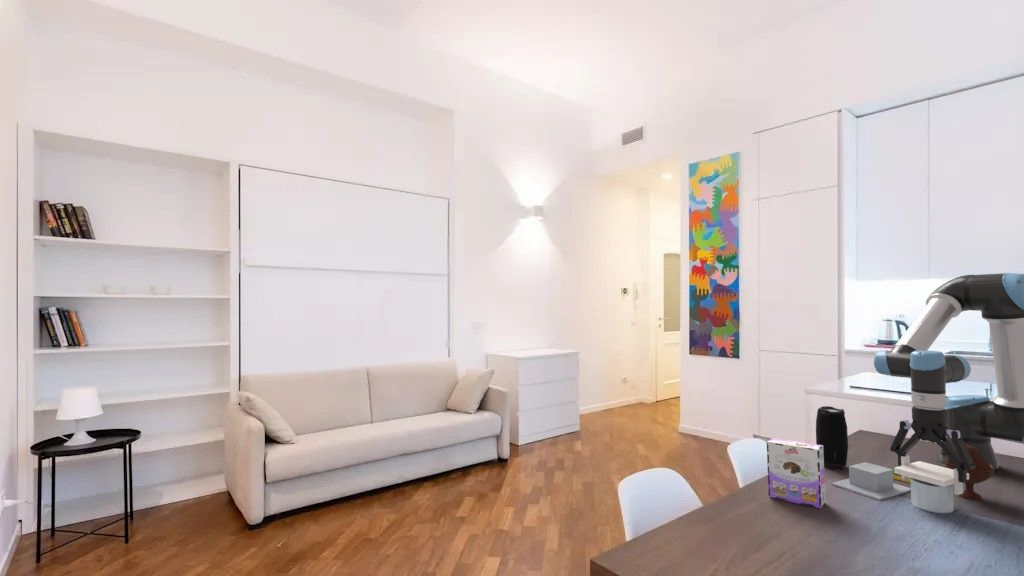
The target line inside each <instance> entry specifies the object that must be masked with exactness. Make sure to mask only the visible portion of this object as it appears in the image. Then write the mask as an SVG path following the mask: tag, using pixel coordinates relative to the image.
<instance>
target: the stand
mask: <svg viewBox="0 0 1024 576" xmlns="http://www.w3.org/2000/svg"><path fill="white" fill-rule="evenodd" d="M848 475H849V476H848V477H849V478H845V479H841V480H837V481H833V482H831V486H834V485H835V486H834V487H837V486H838V488H840V487H841V488H840V489H843V488H844V489H843V490H845V491H846V490H847V491H850V492H852V491H853V493H855V492H856V494H858V495H862V496H864V497H868V498H871V499H874V500H877V501H879V502H880V501H883V500H887V499H890V498H893V497H896V496H900V495H903V494H907V493H909V492H910V493H911V487H908V486H904V485H901V484H898V483H894V479H893V469H892V468H888V467H884V466H881V465H878V464H873V463H869V462H866V461H863V462H861V463H856V464H853V465H849V466H848Z"/></svg>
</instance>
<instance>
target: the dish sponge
mask: <svg viewBox="0 0 1024 576" xmlns="http://www.w3.org/2000/svg"><path fill="white" fill-rule="evenodd" d="M895 467H899V465H896V466H893V467H892V468H891V469H893V480H897V481H901V482H902V481H903V482H906V483H909V484H911V480H910V479H906V480H903V479H902V475H899V474H896V473H894V468H895Z"/></svg>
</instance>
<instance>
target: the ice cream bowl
mask: <svg viewBox="0 0 1024 576" xmlns="http://www.w3.org/2000/svg"><path fill="white" fill-rule="evenodd" d="M965 446H966V448H967V450H968V452H969V454H970V456H971V458H972V460H973V462H974V464H975V466H976V468H974V469H971V470H967V473H969V479H968V480H967V481H966V482H964V483H963V484H965V489H963V493H962V494H959V495H957V497H960V498H963V499H965V500H970V501H982V500H983V497H982V496H981V494H979V493H977V492H976V491H975V490H974V485H975V484H979V483H983V482H985V481H988V480H989V479H991V478H992V476H993V475H994V473H995V471H996V470H995V468H994V467H993V466H992V465H991V464H989V463H988V462H987V461H986V460H984V459H983V458H981V453H980V451H979V450H978V449H976V448H974V447H973V446H969V445H965ZM954 450H955V451H956V452H957V450H956V448H955V449H954ZM957 454H958V452H957ZM958 455H959V454H958ZM947 458H948V459H944V462H945V463H944V465H945V468H949V469H953V470H954V469H956V466H955V465H954V464H953V462H952V461H951V460H950V458H949V457H948V456H947ZM994 470H995V471H994Z"/></svg>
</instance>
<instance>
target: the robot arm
mask: <svg viewBox="0 0 1024 576" xmlns="http://www.w3.org/2000/svg"><path fill="white" fill-rule="evenodd" d="M966 311H977V312H978V311H979V312H981V317H982V319H983V320H985V321H986V322H988V324H989V325H988V326H989V332H990V339H991V346H992V347H991V350H992V357H993V365H994V372H995V373H994V374H995V380H996V382H995V383H996V388H997V395H996V396H994V397H993V398H992V401H991V399H990V397H989V396H988V395H979V394H961V395H951V396H947V393H946V392H947V390H946V384H950V383H959V382H961V381H964V380H965V379H967V378H969V376H970V374H971V364H970V362H969V361H968V360H967V359H965V357H962V356H961V355H956V354H946V355H945V354H944V353H943V352H942V351H938V350H930V348H931V346H932V345H933V344H934V343H935V341H936V340H937V338H938V337H939V336H940V334H941V333H942V332H943V331H944V329H945V328H946V327H947V325H948V324H949V322H950V321H951V320H952V319H953V318H957V317H959V316H960V314H961V313H962V312H966ZM873 357H874V358H873V366H874V369H875V371H876V372H877V373H878V374H880V375H883V376H884V375H885V376H889V377H898V378H906V379H910V382H911V383H910V384H911V385H910V386H911V388H910V393H911V404H912V405H913V406H912V407H911V419H912V422H910V421H909V420H908V419H907V420H900V421H899V428H898V431H897V433H896V435H895V437H894V438H893V442H892V444H891V445H890V447H889V450H890V451H891V452H893V453H895V454H896V455H897V464H898V465H899V466H903V465H907V464H910V463H911V462H910V455H908V452H909V451H911V449H912V448H913V447H914V446H915V445H916V444H917V443H919V442H920V441H923V442H926V441H927V442H930V443H933V444H934V443H935V444H937V445H938V447H940V448H941V449H940V451H939V461H941V462H942V463H943V464H945V462H944V459H948V458H947V456H948V457H949V458H950V460H951V461H952V462H953V464H954V465H955V466H956V469H954V484H953V495H957V496H958V495H959V494H962V493H963V491H964V484H965V483H964V482H966V481H967V470H971V469H974V468H976V466H975V464H974V462H973V460H972V458H971V456H970V454H969V452H968V450H967V448H966V446H965V445H969V446H973V447H974V448H976V449H978V450H979V451H980V453H981V458H983V459H984V460H986V461H987V462H988V463H989V464H991V465H992V466H993V467H994V468H995V471H997V469H998V468H999V469H1000V462H999V460H998V457H997V455H996V452H995V450H994V448H993V445H992V439H996V440H997V439H998V440H1002V441H1008V442H1011V443H1018V444H1022V445H1024V273H1018V272H1017V273H1014V272H1013V273H1011V272H1004V273H1003V272H1001V273H987V274H984V273H983V274H981V273H980V274H966V275H960V276H958V277H954V278H952V279H950V280H948V281H947V282H945V283H942V284H941V285H940V286H938V287H937V288H936V289H934V290H933V292H931V293H930V294H929V296H928V297H927V298H926V300H925V307H924V308H923V309H922V311H921V312H920V313H919V314H918V315H917V317H916V318H915V319H914V320H913V322H912V323H911V324H910V326H909V327H908V328H907V330H906V331H905V332H904V333H903V335H902V336H900V338H899V340H898V341H897V342H896V344H895V345H894V346H893V347H892V348H891V350H880V351H877V352H876V353H875V355H874V356H873ZM946 396H947V397H946ZM911 429H912V430H913V432H914V433H913V434H912V435H911V436H910V438H909V439H908V440H907V441H906V442H905V443H904V440H905V439H906V437H907V435H908V432H909V430H911ZM903 443H904V444H903ZM955 448H956V450H957V452H958V454H959V455H958V454H957V452H956V451H955V450H954V449H955ZM898 465H897V466H898ZM999 469H998V470H999ZM902 479H903V480H906V479H910V477H907V476H903V475H902Z"/></svg>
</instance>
